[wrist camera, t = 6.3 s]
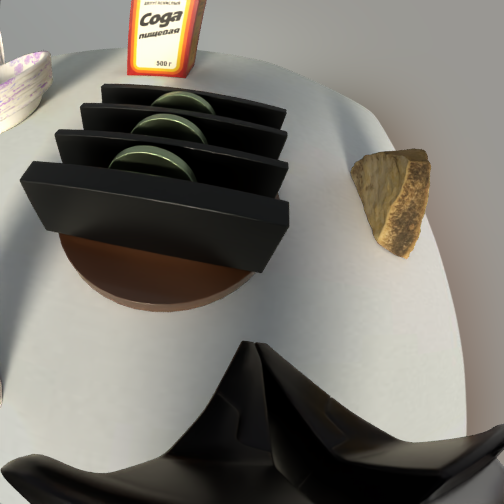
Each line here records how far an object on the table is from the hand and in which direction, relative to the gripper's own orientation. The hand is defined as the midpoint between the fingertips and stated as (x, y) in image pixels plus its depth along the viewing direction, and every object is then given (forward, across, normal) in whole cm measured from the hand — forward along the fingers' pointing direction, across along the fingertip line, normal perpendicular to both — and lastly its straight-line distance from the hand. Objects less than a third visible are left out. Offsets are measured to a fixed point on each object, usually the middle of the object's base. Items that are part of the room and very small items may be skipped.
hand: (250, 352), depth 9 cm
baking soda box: (+34, +16, -22) cm, 43 cm away
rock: (+18, -14, -6) cm, 24 cm away
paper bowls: (+23, +36, -11) cm, 44 cm away
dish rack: (+13, +6, -4) cm, 15 cm away
